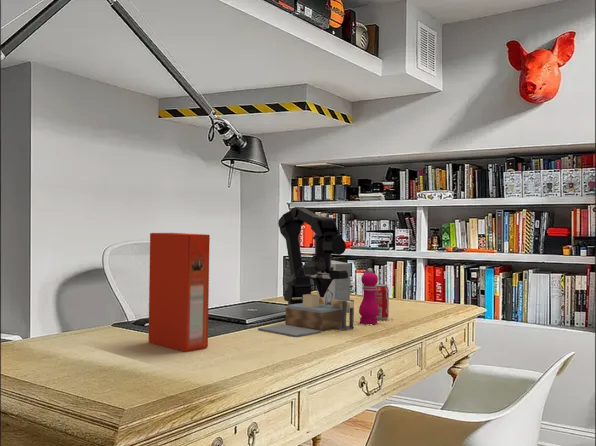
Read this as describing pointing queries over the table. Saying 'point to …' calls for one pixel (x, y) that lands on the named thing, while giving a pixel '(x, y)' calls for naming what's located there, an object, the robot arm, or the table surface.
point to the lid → (313, 305)
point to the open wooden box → (320, 319)
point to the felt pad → (289, 330)
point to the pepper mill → (369, 299)
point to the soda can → (382, 301)
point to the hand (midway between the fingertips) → (321, 297)
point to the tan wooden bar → (339, 303)
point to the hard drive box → (337, 286)
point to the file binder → (179, 290)
